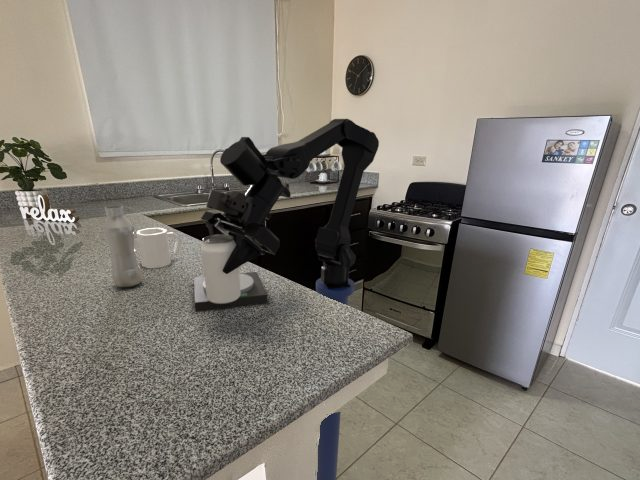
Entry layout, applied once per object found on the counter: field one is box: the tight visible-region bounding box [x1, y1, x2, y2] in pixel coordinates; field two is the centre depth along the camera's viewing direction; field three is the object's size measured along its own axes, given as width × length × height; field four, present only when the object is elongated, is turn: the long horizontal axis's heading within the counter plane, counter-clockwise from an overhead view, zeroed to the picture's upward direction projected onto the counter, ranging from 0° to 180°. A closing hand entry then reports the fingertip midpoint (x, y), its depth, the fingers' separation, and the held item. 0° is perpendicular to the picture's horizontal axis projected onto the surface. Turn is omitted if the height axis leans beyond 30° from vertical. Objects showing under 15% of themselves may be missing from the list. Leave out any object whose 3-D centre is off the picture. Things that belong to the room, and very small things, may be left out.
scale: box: [193, 271, 268, 313], centre depth 85 cm, size 16×15×3 cm
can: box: [200, 235, 241, 304], centre depth 66 cm, size 6×6×12 cm
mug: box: [135, 227, 182, 269], centre depth 103 cm, size 12×9×10 cm
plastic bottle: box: [102, 205, 143, 288], centre depth 85 cm, size 6×7×20 cm
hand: (214, 267), depth 65 cm, fingers closed on can, 6 cm apart
